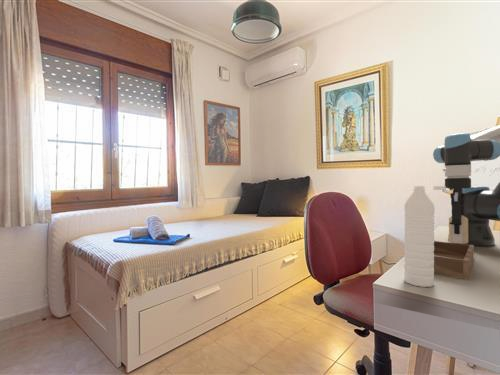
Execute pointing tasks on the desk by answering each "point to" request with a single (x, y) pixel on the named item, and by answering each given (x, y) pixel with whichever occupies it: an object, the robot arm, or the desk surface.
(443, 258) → the walnut box
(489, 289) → the desk surface
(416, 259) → the water bottle
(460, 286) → the desk surface
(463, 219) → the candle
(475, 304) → the desk surface
